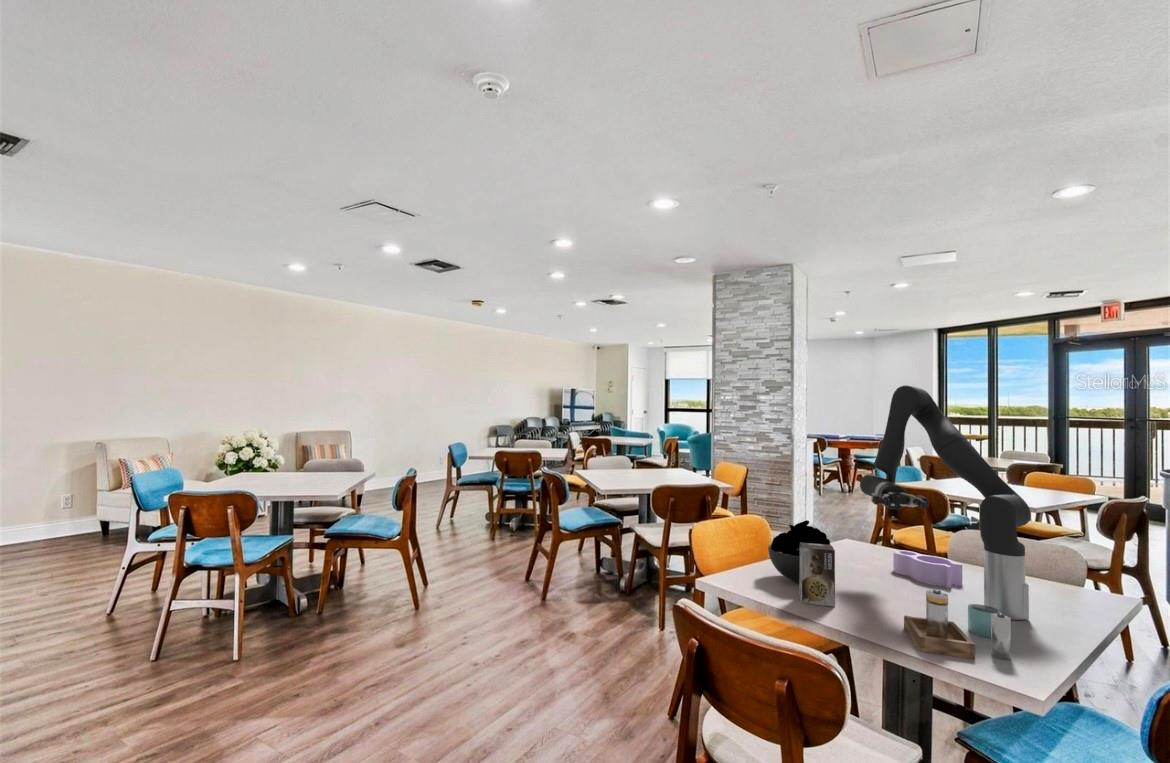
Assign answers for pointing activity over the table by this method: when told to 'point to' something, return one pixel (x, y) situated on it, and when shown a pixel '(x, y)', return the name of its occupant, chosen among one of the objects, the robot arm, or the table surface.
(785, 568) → the coal bowl
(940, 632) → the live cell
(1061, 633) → the table surface
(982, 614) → the cup
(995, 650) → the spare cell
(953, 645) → the brown wooden tray
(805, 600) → the coffee box
